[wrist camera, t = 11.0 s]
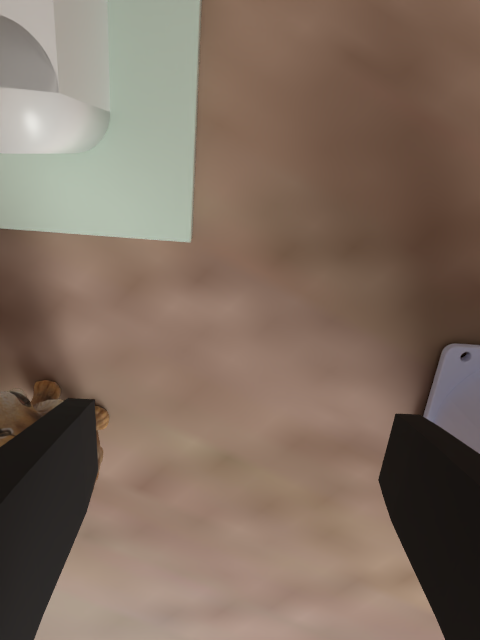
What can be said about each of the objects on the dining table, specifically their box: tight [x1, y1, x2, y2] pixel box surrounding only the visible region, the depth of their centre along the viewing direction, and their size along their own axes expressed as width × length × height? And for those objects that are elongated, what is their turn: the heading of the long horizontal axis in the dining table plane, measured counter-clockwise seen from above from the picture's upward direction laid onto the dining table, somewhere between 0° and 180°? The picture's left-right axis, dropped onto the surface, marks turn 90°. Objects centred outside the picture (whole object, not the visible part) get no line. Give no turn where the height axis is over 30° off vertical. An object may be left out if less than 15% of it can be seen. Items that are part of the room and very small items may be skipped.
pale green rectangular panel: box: [0, 0, 202, 242], centre depth 15 cm, size 9×12×1 cm
